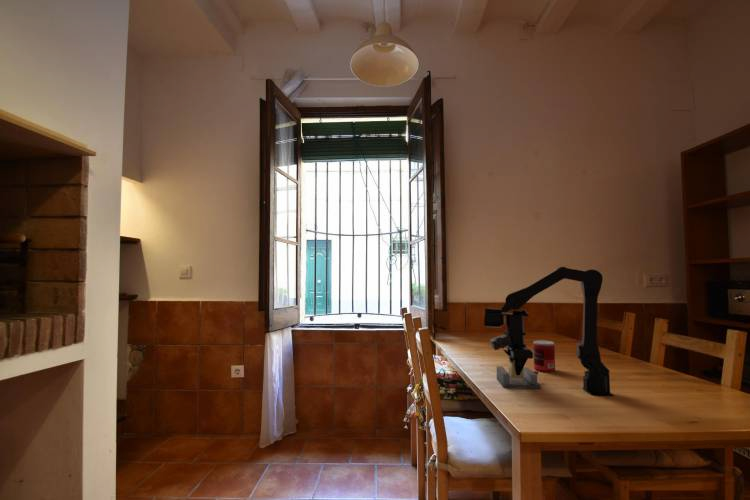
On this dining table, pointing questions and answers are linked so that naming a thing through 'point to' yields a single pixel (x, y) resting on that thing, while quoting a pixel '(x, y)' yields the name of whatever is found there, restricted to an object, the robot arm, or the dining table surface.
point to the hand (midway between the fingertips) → (516, 373)
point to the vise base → (513, 380)
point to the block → (512, 371)
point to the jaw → (530, 375)
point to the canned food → (544, 356)
